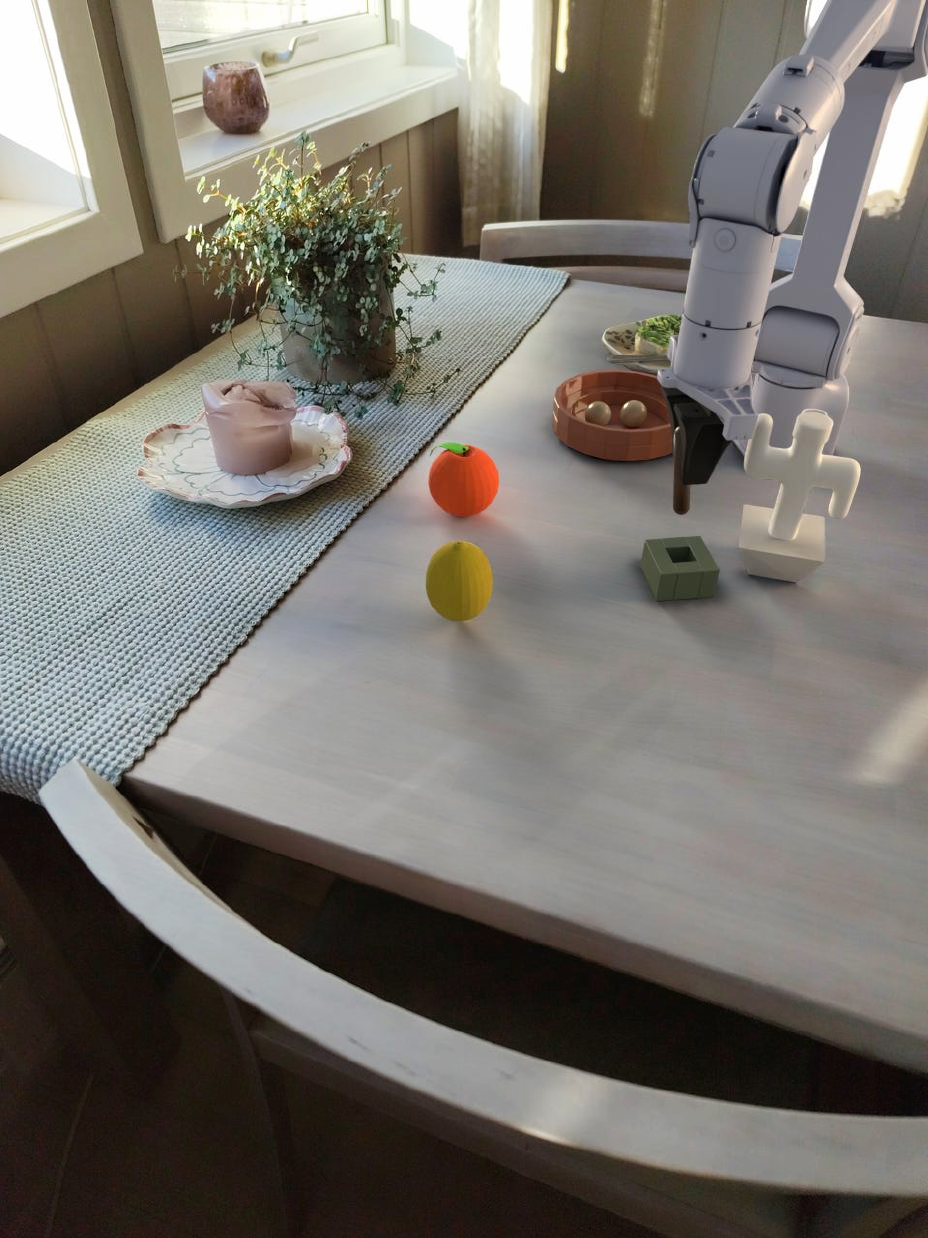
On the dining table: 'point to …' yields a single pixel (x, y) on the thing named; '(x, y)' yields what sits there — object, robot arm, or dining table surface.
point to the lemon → (459, 581)
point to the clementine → (463, 479)
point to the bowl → (613, 415)
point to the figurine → (793, 498)
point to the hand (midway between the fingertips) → (690, 476)
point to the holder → (679, 568)
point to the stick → (679, 480)
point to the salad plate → (642, 343)
